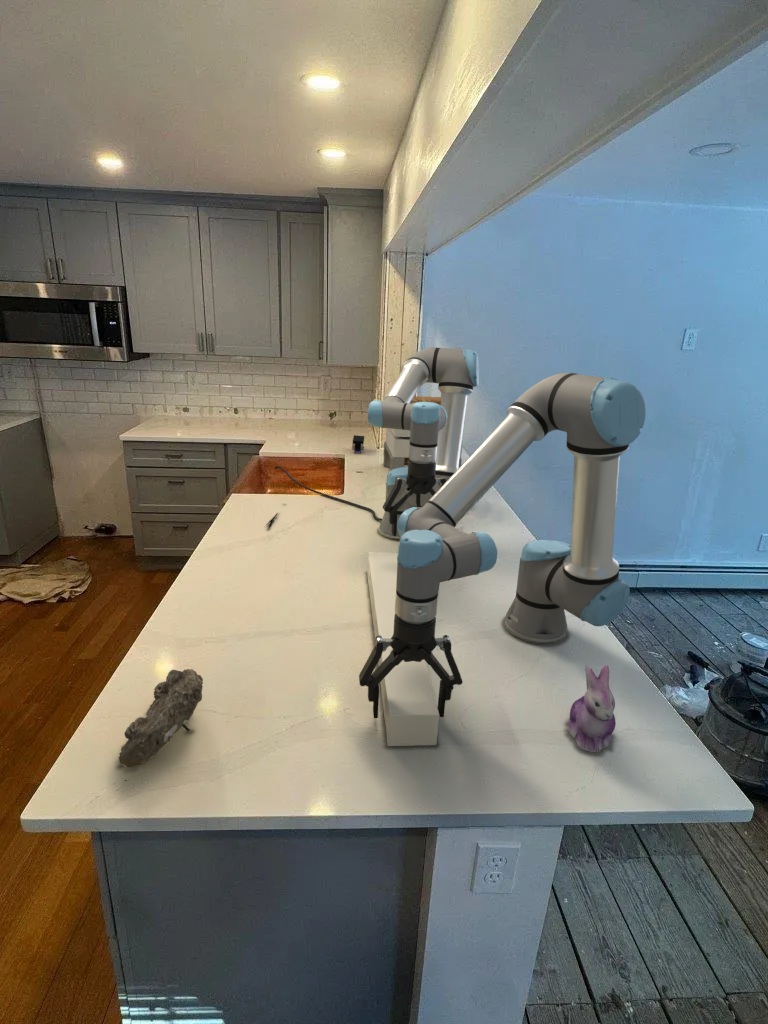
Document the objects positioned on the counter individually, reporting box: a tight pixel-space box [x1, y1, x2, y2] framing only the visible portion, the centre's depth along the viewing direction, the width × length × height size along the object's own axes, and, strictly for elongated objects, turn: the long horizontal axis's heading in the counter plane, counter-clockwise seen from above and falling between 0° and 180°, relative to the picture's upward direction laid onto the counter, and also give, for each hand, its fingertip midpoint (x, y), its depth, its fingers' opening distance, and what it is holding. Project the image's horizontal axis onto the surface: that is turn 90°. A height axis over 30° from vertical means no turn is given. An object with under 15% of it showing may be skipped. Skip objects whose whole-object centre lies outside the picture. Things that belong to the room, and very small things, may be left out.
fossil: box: [118, 668, 204, 768], centre depth 103 cm, size 22×10×15 cm
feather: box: [265, 512, 279, 530], centre depth 210 cm, size 2×28×2 cm
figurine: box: [568, 664, 617, 753], centre depth 105 cm, size 9×10×15 cm
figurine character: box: [351, 435, 365, 454], centre depth 310 cm, size 7×8×15 cm
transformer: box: [383, 392, 465, 472], centre depth 268 cm, size 34×33×41 cm
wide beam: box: [366, 551, 440, 747], centre depth 135 cm, size 71×9×7 cm, turn 5°
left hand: (417, 533), depth 160 cm, fingers open, 13 cm apart
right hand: (408, 713), depth 109 cm, fingers open, 12 cm apart
